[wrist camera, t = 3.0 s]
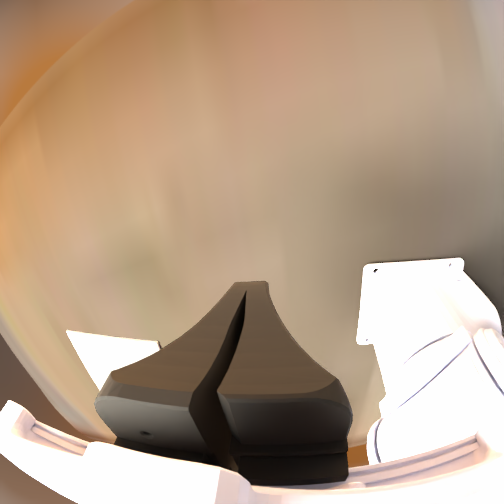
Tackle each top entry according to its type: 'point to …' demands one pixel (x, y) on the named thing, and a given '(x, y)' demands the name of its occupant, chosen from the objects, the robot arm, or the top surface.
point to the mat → (109, 352)
